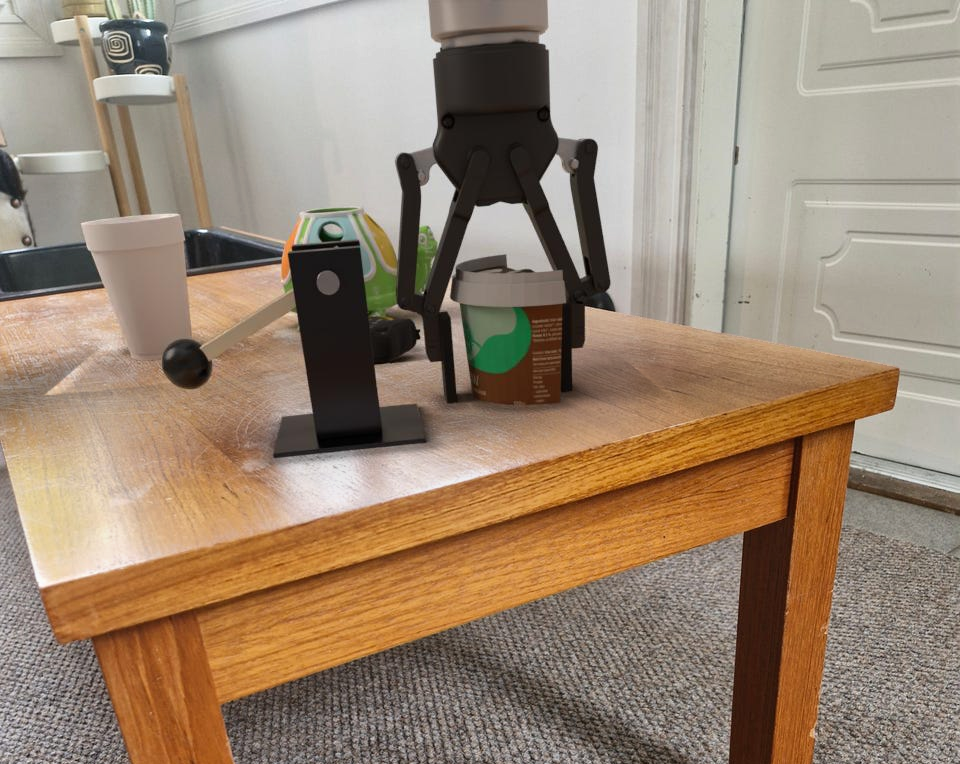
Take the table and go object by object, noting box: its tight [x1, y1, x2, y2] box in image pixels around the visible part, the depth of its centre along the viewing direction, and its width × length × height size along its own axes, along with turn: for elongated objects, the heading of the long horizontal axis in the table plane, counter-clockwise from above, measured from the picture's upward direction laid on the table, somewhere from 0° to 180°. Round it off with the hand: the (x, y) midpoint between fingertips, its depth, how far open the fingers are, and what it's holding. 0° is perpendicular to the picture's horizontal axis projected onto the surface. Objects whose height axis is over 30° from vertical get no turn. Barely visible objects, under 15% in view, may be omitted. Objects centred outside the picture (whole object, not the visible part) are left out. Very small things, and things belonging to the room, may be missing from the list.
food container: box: [449, 254, 566, 406], centre depth 67 cm, size 12×6×10 cm, turn 18°
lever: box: [161, 246, 338, 390], centre depth 58 cm, size 14×3×3 cm, turn 98°
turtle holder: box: [280, 205, 438, 333], centre depth 101 cm, size 12×18×12 cm
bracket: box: [272, 239, 427, 459], centre depth 60 cm, size 10×9×13 cm
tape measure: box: [369, 316, 421, 364], centre depth 84 cm, size 7×7×4 cm
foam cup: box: [80, 213, 193, 361], centre depth 92 cm, size 10×9×13 cm
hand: (507, 397), depth 69 cm, fingers open, 8 cm apart
